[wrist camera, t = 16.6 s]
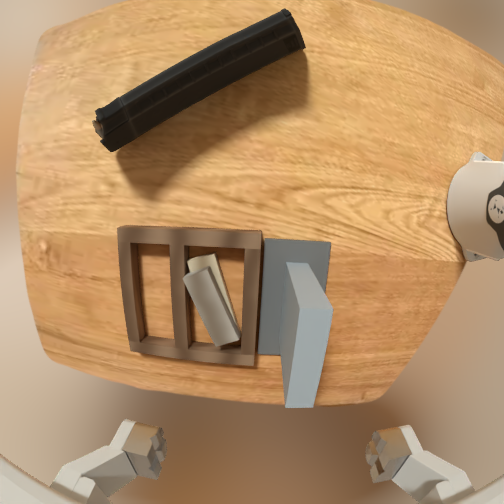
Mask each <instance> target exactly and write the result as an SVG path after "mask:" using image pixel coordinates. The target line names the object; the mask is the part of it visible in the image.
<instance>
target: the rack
mask: <svg viewBox="0 0 504 504" xmlns="http://www.w3.org/2000/svg"><path fill="white" fill-rule="evenodd" d="M117 233H118V252H119V266H120V278H121V288H122V297H123V305H124V313H125V320H126V327H127V333H128V339H129V345H130V350H131V351H133V352H139V353H144V354H150V355H156V356H163V357H169V358H177V359H184V360H192V361H201V362H210V363H221V364H233V365H247V366H254V354H255V338H256V322H257V305H258V288H259V270H260V252H261V234H262V231H258V230H239V229H217V228H194V227H166V226H133V225H125V226H121V227H118V228H117ZM137 243H150V244H169V245H170V276H171V297H172V313H173V327H174V339H168V338H161V337H154V336H147V335H145V329H144V321H143V312H142V302H141V292H140V280H139V265H138V246H137ZM189 246H208V247H227V248H245V259H244V284H243V309H242V336H241V346H238V345H225V344H224V345H220V346H217V347H216V346H215V344H213V343H203V342H193V341H192V339H191V320H190V294H189V291H188V289H187V287H186V285H185V283H184V280H183V278H184V276H185V275H186V274H188V273H189V267H188V264H187V260H188V259H189Z"/></svg>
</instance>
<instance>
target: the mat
mask: <svg viewBox="0 0 504 504" xmlns="http://www.w3.org/2000/svg"><path fill="white" fill-rule="evenodd" d="M330 247H331V243H330V242H322V241H305V240H288V239H271V238H265V245H264V263H263V279H262V295H261V311H260V326H259V341H258V354H268V355H281V353H280V342H279V336H280V326H281V316H282V305H283V294H284V283H285V271H286V262H293V263H308V264H309V266H310V268H311V270H312V271H313V273H314V275H315V277H316V278H317V280H318V282H319V284H320V286H321V287H322V289H323V291H324V293H325V289H326V281H327V273H328V265H329V256H330Z"/></svg>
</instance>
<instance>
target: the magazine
mask: <svg viewBox="0 0 504 504" xmlns="http://www.w3.org/2000/svg"><path fill="white" fill-rule="evenodd" d="M304 48H306V47H305V44H304V41H303V38H302V35H301V32H300V30H299V28H298V26H297V24H296V23H295V21H294V18H293V17H292V16H291V13H290V12H289V11H288V10H286V9H282V10H281V11H280V12H278V13H276V14H274V15H272V16H270V17H268V18H266V19H264V20H262V21H259V22H257V23H255V24H253V25H251V26H249V27H247V28H245V29H243V30H241V31H239V32H237V33H234V34H232V35H230V36H228V37H226V38H224V39H222V40H220V41H218V42H216V43H214V44H212V45H210V46H208V47H207V48H205V49H203V50H201V51H199V52H197V53H196V54H194V55H192V56H190V57H188V58H186V59H185V60H183V61H181V62H179V63H177V64H175V65H174V66H172V67H170V68H168V69H167V70H165V71H163V72H161V73H160V74H158V75H156V76H155V77H153V78H151V79H149V80H148V81H146V82H144V83H142V84H141V85H139V86H137V87H136V88H134V89H133V90H131V91H129V92H128V93H126V94H124V95H123V96H121V97H118V98H116V99H115V100H114V101H112V102H111V103H110V104H108V105H106V106H105V107H103V108H99V109H97V110H96V111H95V112H96V115H97V116H96V121H95V120H93V121H92V122H93V126H94V128H95V130H96V133H97V134H98V135H99V136H100V137H101V138H102V140H101V141H100V142H101V143H102V144H103V145H104V146H105V147H106V148H107V149H108V150H109V151H110V152H114V151H116V150H118V149H119V148H121V147H122V146H124V145H126V144H127V143H129V142H131V141H132V140H134V139H135V138H137V137H138V136H140V135H142V134H143V133H145V132H146V131H148V130H150V129H151V128H153V127H155V126H156V125H158V124H160V123H161V122H163V121H165V120H167V119H168V118H170V117H172V116H174V115H175V114H177V113H179V112H181V111H182V110H184V109H186V108H188V107H189V106H191V105H193V104H195V103H197V102H198V101H200V100H202V99H204V98H206V97H207V96H209V95H211V94H213V93H215V92H216V91H218V90H220V89H222V88H224V87H226V86H227V85H229V84H231V83H233V82H235V81H237V80H239V79H241V78H243V77H244V76H246V75H248V74H250V73H252V72H254V71H256V70H258V69H260V68H262V67H264V66H266V65H268V64H270V63H272V62H274V61H276V60H278V59H280V58H282V57H284V56H287V55H289V54H291V53H293V52H295V51H298V50H300V49H304Z"/></svg>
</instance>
